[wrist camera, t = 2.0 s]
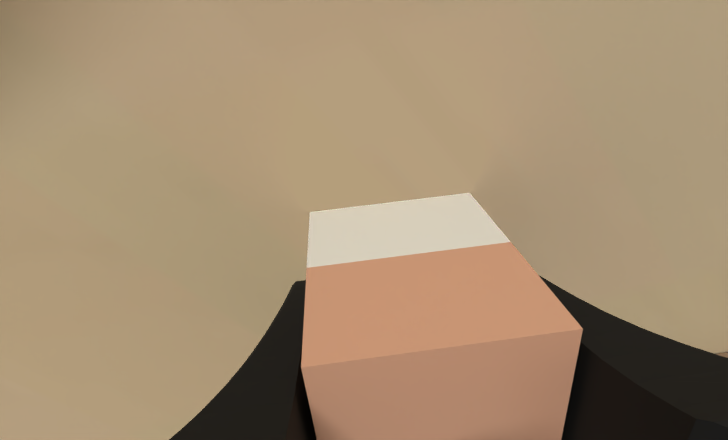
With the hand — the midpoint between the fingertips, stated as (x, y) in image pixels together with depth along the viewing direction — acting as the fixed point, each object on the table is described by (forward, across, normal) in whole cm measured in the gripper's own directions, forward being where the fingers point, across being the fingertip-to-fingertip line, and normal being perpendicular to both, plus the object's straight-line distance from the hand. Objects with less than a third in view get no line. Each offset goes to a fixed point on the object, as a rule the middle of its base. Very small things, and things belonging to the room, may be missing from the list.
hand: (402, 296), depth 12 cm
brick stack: (+1, 0, 0) cm, 1 cm away
